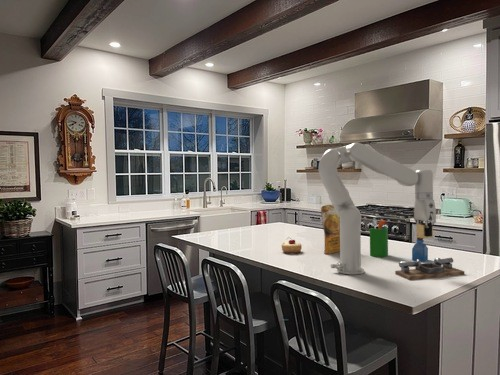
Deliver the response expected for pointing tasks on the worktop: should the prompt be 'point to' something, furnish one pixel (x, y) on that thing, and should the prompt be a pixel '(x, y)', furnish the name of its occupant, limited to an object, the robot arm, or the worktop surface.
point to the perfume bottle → (420, 251)
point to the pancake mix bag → (331, 229)
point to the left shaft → (409, 265)
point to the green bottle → (379, 241)
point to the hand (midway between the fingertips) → (424, 234)
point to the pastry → (291, 247)
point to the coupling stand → (429, 272)
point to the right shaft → (444, 262)
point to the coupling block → (422, 230)
